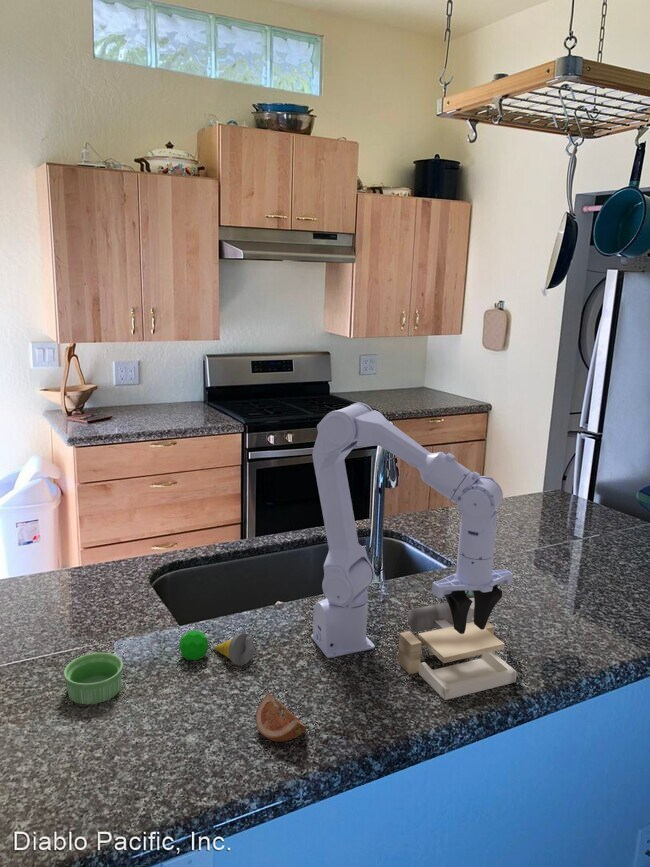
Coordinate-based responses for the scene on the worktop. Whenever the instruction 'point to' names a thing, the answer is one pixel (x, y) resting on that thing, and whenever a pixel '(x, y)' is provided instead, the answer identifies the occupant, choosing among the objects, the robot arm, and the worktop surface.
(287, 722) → the fruit slice
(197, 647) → the polyhedron
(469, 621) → the grey rectangular block
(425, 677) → the tray
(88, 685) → the ramekin
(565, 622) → the worktop surface
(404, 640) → the trapdoor posts
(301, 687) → the worktop surface
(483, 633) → the trapdoor
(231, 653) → the ice cream cone
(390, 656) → the worktop surface
